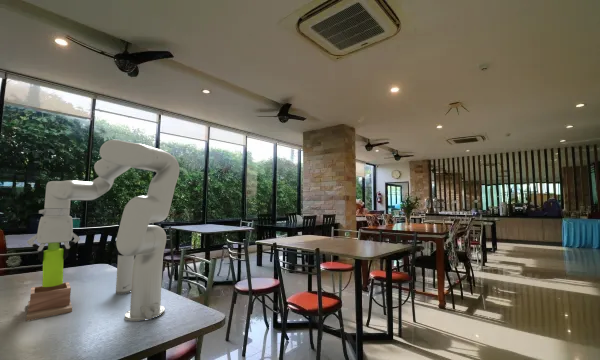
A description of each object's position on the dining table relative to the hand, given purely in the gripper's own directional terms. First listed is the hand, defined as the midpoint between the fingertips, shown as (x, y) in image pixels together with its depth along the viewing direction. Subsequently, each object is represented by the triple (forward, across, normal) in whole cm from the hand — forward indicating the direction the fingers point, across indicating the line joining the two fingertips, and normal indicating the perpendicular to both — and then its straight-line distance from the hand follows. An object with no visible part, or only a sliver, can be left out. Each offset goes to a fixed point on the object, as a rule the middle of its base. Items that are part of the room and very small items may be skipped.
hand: (53, 259), depth 106 cm
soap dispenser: (+10, 0, 0) cm, 10 cm away
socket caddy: (+18, 0, 0) cm, 18 cm away
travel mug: (+18, +25, +3) cm, 31 cm away
